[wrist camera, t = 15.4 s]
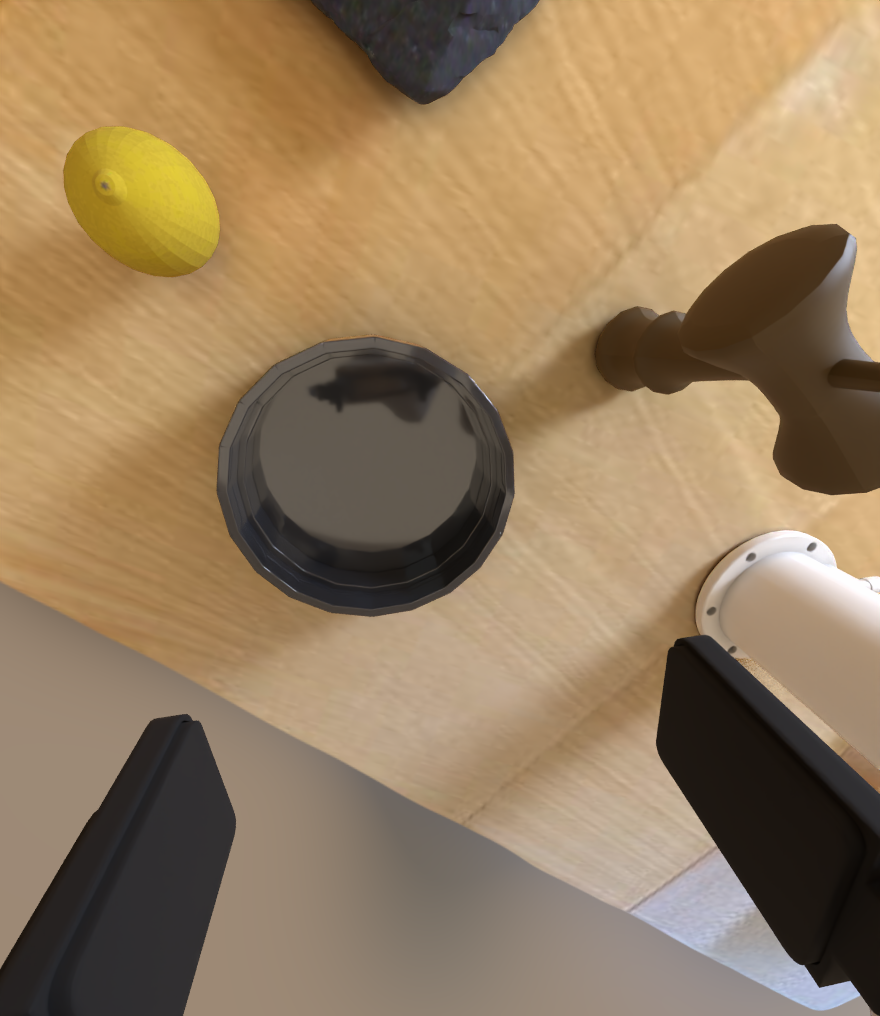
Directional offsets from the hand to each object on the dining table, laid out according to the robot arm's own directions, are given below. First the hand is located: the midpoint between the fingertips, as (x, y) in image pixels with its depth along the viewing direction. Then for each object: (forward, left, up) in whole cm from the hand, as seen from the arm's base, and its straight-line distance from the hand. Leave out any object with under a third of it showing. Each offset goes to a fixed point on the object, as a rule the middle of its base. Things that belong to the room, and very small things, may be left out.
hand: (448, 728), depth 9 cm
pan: (+2, +2, -23) cm, 23 cm away
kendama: (-16, -4, -24) cm, 29 cm away
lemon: (+9, -13, -24) cm, 29 cm away
